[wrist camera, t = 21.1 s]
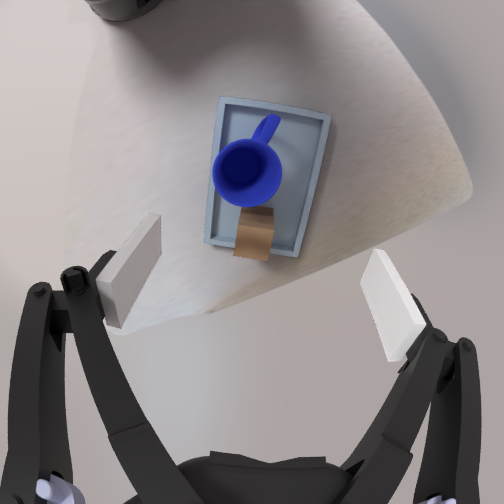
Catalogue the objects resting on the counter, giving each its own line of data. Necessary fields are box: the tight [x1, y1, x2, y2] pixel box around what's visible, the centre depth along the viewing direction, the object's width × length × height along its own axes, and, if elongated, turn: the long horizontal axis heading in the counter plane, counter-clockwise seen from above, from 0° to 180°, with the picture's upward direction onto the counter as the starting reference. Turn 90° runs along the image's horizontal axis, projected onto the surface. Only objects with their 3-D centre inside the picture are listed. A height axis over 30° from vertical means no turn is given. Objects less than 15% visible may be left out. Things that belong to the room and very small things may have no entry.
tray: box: [204, 96, 332, 258], centre depth 42 cm, size 24×16×2 cm, turn 172°
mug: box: [212, 113, 282, 207], centre depth 36 cm, size 8×12×10 cm
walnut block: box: [233, 206, 274, 261], centre depth 43 cm, size 5×5×8 cm
